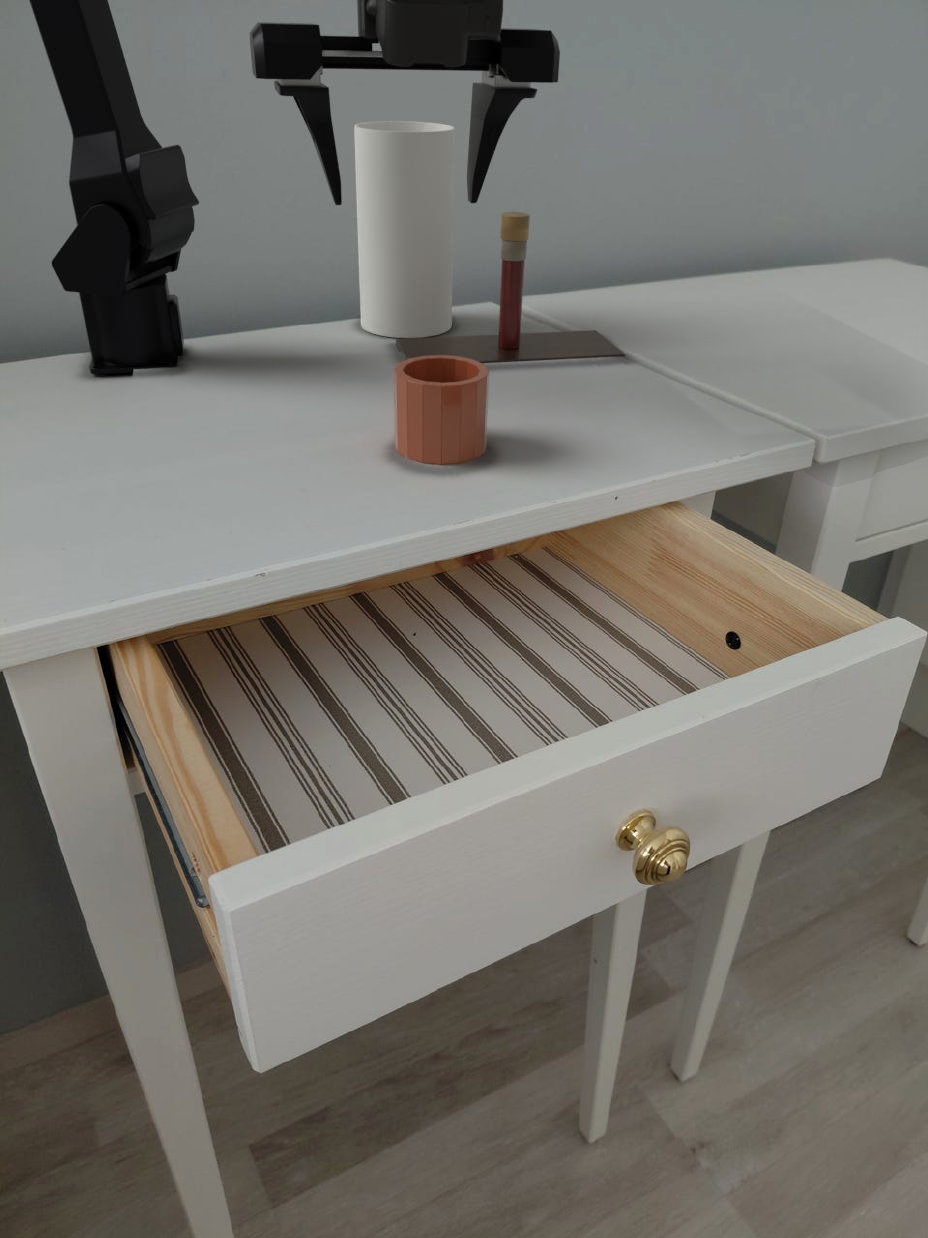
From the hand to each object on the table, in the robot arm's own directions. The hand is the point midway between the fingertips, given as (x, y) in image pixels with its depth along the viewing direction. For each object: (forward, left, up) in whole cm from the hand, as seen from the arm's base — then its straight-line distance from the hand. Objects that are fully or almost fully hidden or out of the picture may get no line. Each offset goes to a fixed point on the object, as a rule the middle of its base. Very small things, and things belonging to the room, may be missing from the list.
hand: (406, 203), depth 63 cm
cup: (+3, +17, -13) cm, 22 cm away
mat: (+10, +8, -13) cm, 18 cm away
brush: (+10, +7, -12) cm, 18 cm away
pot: (0, -12, -13) cm, 18 cm away
